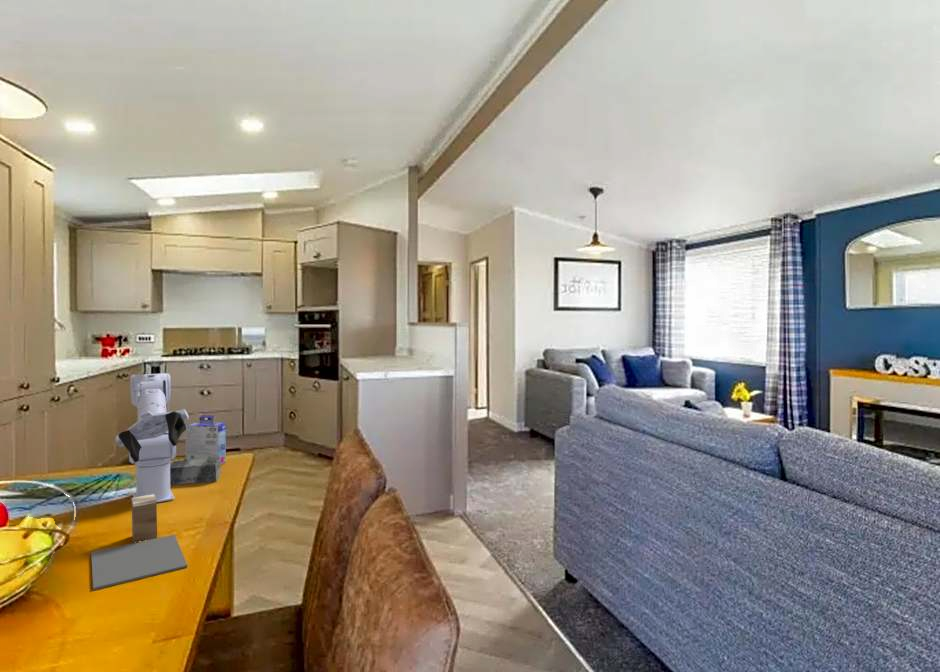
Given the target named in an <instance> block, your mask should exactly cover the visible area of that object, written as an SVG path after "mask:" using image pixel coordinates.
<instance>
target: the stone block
mask: <svg viewBox="0 0 940 672" xmlns="http://www.w3.org/2000/svg"><path fill="white" fill-rule="evenodd" d="M221 465H222V464H221V462H220V457H215V458H205V459H194V460H187V459H186V458H184V459H183V460H182V459H180V460H171V463H170V486H178V485H185V484H205V483H217V481H218V479H219V477H220V475H221V474H222V467H221Z"/></svg>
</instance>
